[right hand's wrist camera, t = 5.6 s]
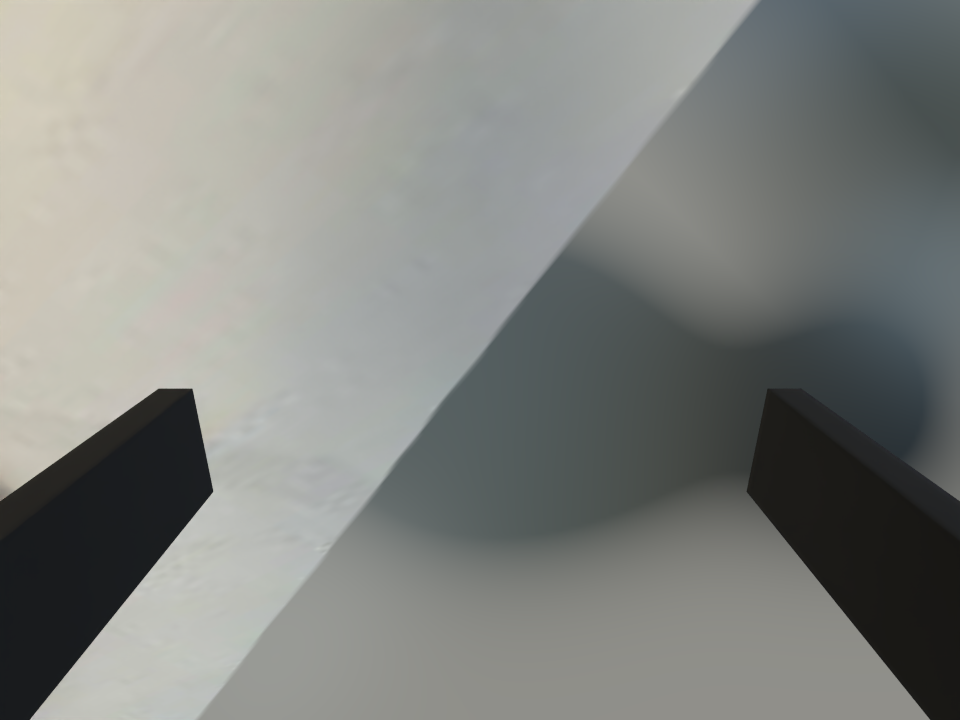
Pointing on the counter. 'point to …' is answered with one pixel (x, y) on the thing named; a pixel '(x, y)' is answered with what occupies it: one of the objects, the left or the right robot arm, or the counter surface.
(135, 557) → the right robot arm
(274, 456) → the counter surface
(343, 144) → the counter surface
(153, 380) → the counter surface
